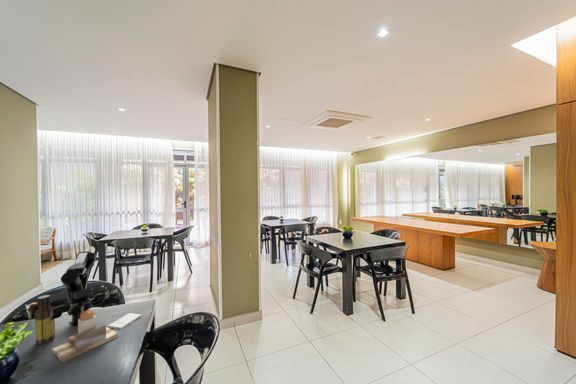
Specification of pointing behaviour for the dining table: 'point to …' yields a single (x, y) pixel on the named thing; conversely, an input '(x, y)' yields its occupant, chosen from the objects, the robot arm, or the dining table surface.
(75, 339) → the mount
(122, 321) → the external hard drive
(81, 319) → the white tall block
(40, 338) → the sauce bottle
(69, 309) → the robot arm
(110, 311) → the dining table surface
